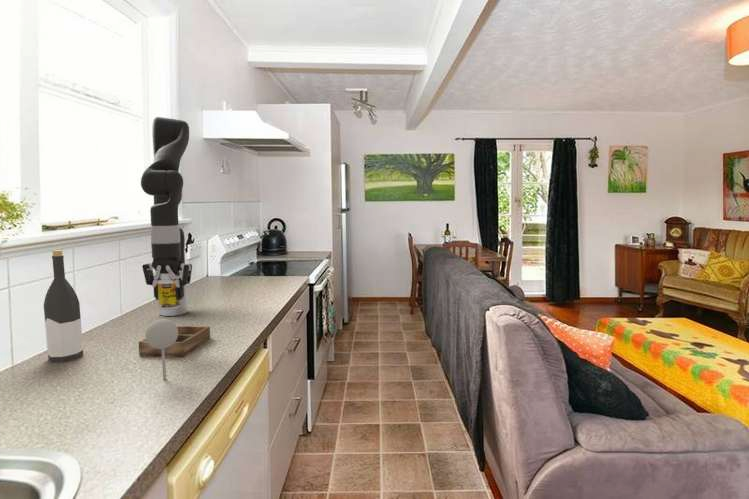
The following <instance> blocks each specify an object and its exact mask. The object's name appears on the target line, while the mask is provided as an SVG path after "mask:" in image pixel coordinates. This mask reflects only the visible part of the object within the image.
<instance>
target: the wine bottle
mask: <svg viewBox="0 0 749 499" xmlns="http://www.w3.org/2000/svg"><path fill="white" fill-rule="evenodd" d="M64 258H65V256H64V255H63V250H62V249H57V250H56V249H55V250H52V256H51V259H52V268H53V269H52V270H53V280H52V281H51V284H50V285H49V288H48V289H47V291H46V294H45V297H44V301H43V302H44V303H43V314H44V325H45V336H46V346H47V347H46V349H47V357H48V360H49V362H50V363H65V362H70V361H74V360H77V359H79V358H81V357H83V356H84V345H83V333H82V320H81V319H82V318H81V307H80V301H79V298H78V296H77V293H76V291H75V289H74V288H73V287H72V285H71V283H70V282H69V281H68V280H67V279H66V273H65V263H64V262H65V261H64V260H65V259H64Z"/></svg>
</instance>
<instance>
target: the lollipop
mask: <svg viewBox="0 0 749 499" xmlns="http://www.w3.org/2000/svg"><path fill="white" fill-rule="evenodd" d="M177 326H178V325H176V323H175V322H173V321H172V320H170V319H167V318H158V319H156V320H154V321H152V322H151V323H150V324H149V325H148V326H147V328H146V330H145V338H146V341H147V343H148V344H149V345H150V346H152V347H153V348H156V349H161V351H162V356H161V362H162V363H161V364H162V365H161V366H162V380H163V381H166V380H167V369H166V356H165V348H168V347H170V346H171V345H173V344H174V343H175V341H176V340H177V338H178V328H177Z"/></svg>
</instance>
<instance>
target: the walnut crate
mask: <svg viewBox="0 0 749 499" xmlns="http://www.w3.org/2000/svg"><path fill="white" fill-rule="evenodd" d="M176 326H177V328H178V338H177V340H176V341H175V343H174V344H173V345H171V346H170V347H168V348H165V357H167V356H170V358H171V357H173V358H178V357H179V358H185V357H186V356H187V355H189V354H190V353H192V352H194V351H195V350H197V348H199V347H201V346H202V345H204V344H206V343H207V342H208V341H210V340H211V327H210V326H207V325H206V326H202V325H201V326H200V325H199V326H197V325H176ZM138 353H139V354H138V355H140V356H141V355H145V356H144V357H162V351H161V349H156V348H153V347H152V346H150V345H149V344H148V343H147V341H146V337H145V338H143V339H141V340H139V341H138ZM141 357H142V356H141Z"/></svg>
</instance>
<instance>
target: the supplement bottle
mask: <svg viewBox="0 0 749 499" xmlns="http://www.w3.org/2000/svg"><path fill="white" fill-rule="evenodd" d="M175 276H176V275H175ZM160 279H161V280H159V281H158V300H159V308H160V309H164V310H169V309H175V308H178V307H179V306H180V300H176V285H175V283H174V281H173V280H172V279H171V277H170V275H169V274H160ZM158 300H157V301H158Z"/></svg>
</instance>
